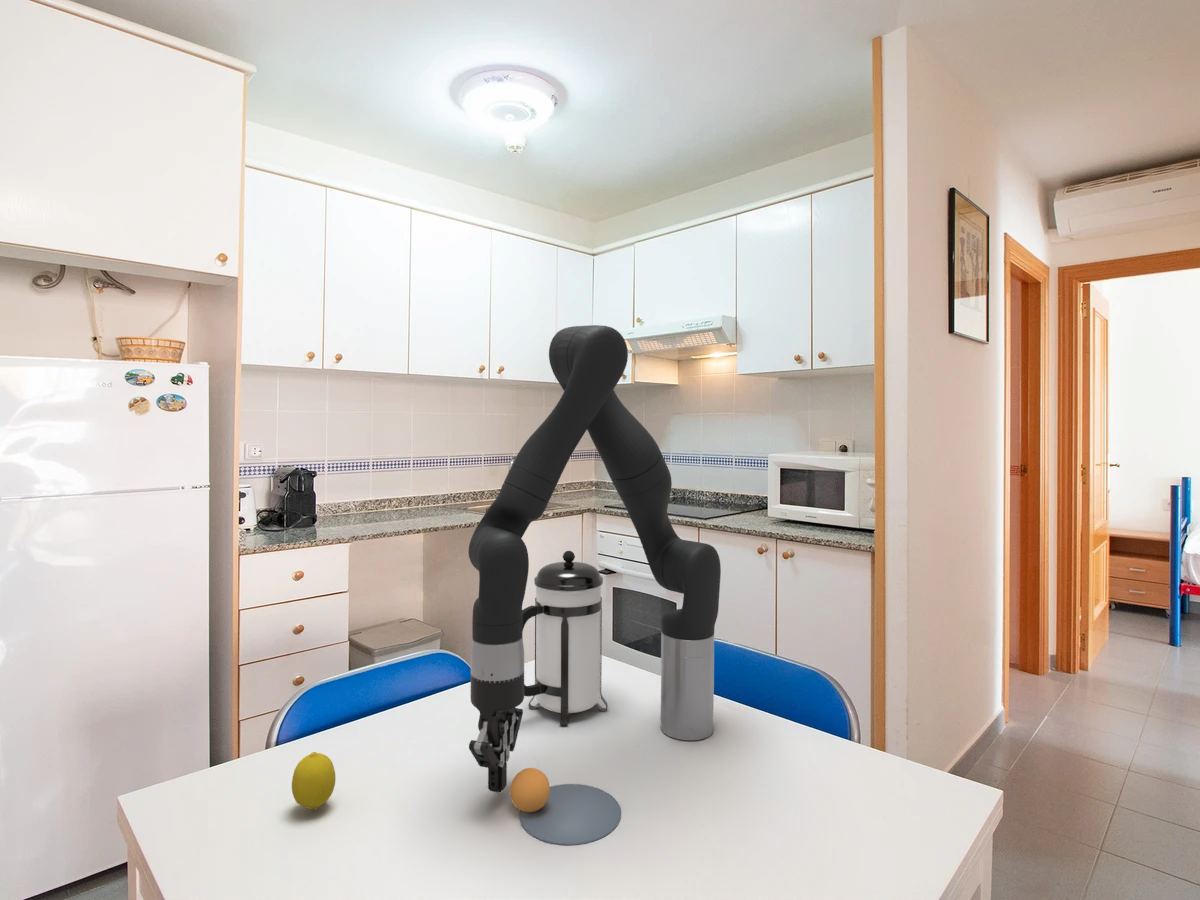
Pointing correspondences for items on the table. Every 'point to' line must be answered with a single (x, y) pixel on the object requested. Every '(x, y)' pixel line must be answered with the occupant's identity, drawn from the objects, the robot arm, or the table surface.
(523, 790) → the ball
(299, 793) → the lemon
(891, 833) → the table surface
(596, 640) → the coffee press
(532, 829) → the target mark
